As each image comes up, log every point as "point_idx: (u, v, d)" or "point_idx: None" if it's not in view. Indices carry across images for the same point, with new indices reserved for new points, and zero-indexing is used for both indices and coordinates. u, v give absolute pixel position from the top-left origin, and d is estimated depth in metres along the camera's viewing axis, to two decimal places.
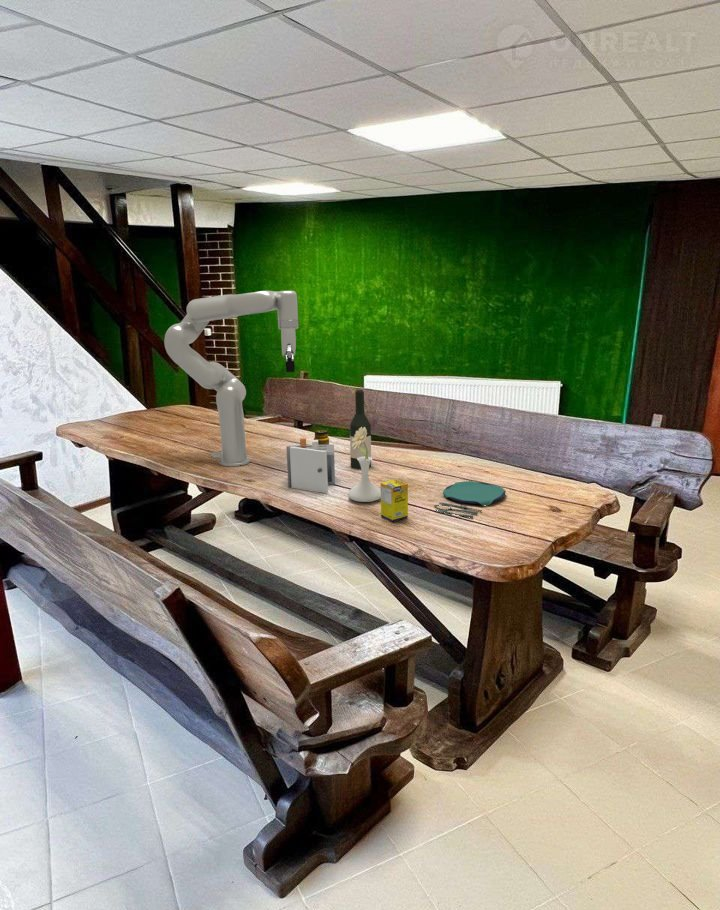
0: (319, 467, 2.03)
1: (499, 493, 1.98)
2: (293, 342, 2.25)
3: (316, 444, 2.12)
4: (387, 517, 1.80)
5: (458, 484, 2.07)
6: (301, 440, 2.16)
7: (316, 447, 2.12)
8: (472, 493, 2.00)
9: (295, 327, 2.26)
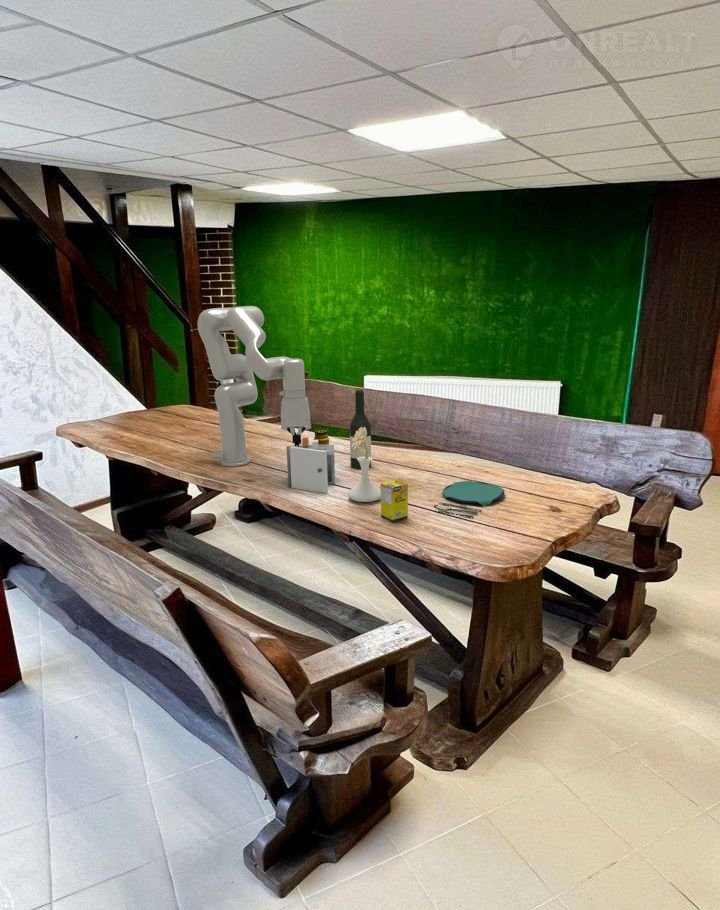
0: (319, 467, 2.03)
1: (498, 493, 1.99)
2: None
3: (316, 444, 2.12)
4: (387, 517, 1.80)
5: (457, 484, 2.07)
6: (303, 440, 2.16)
7: (316, 447, 2.12)
8: (471, 493, 2.00)
9: None
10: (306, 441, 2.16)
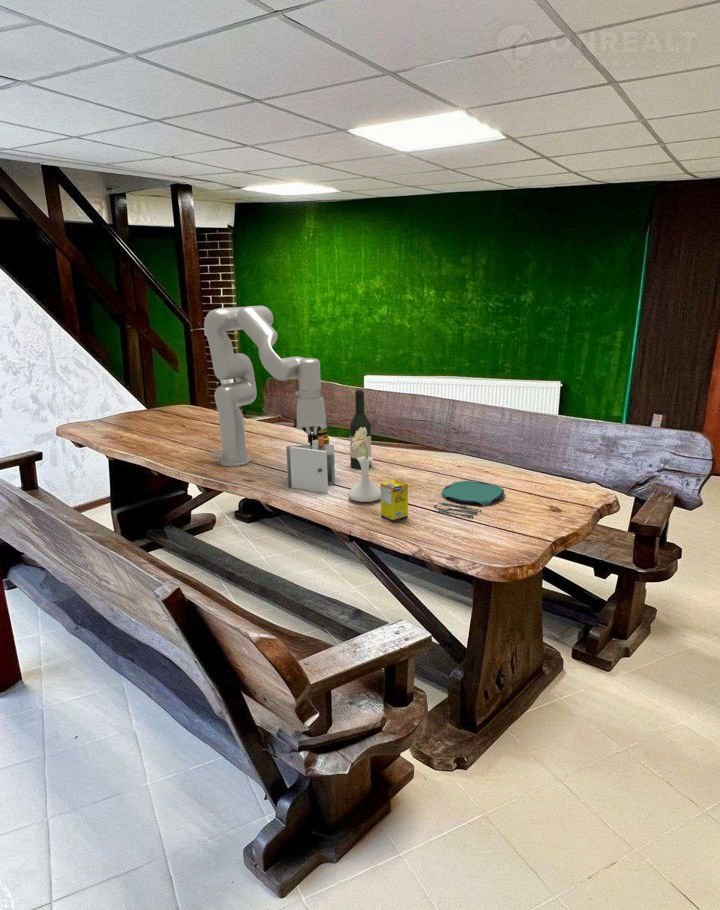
0: (319, 467, 2.03)
1: (498, 492, 1.99)
2: None
3: (316, 444, 2.12)
4: (387, 517, 1.80)
5: (456, 484, 2.07)
6: (319, 440, 2.16)
7: (316, 447, 2.12)
8: (471, 493, 2.00)
9: None
10: (321, 441, 2.16)
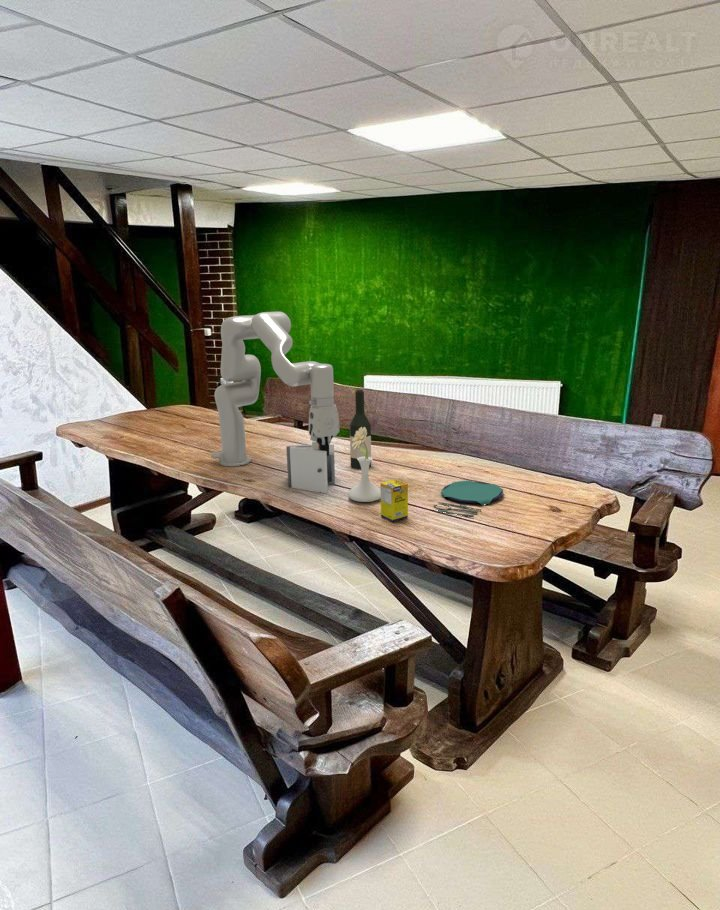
0: (319, 467, 2.03)
1: (497, 492, 1.99)
2: None
3: (316, 444, 2.12)
4: (387, 517, 1.80)
5: (455, 484, 2.08)
6: None
7: (316, 447, 2.12)
8: (470, 492, 2.00)
9: None
10: None
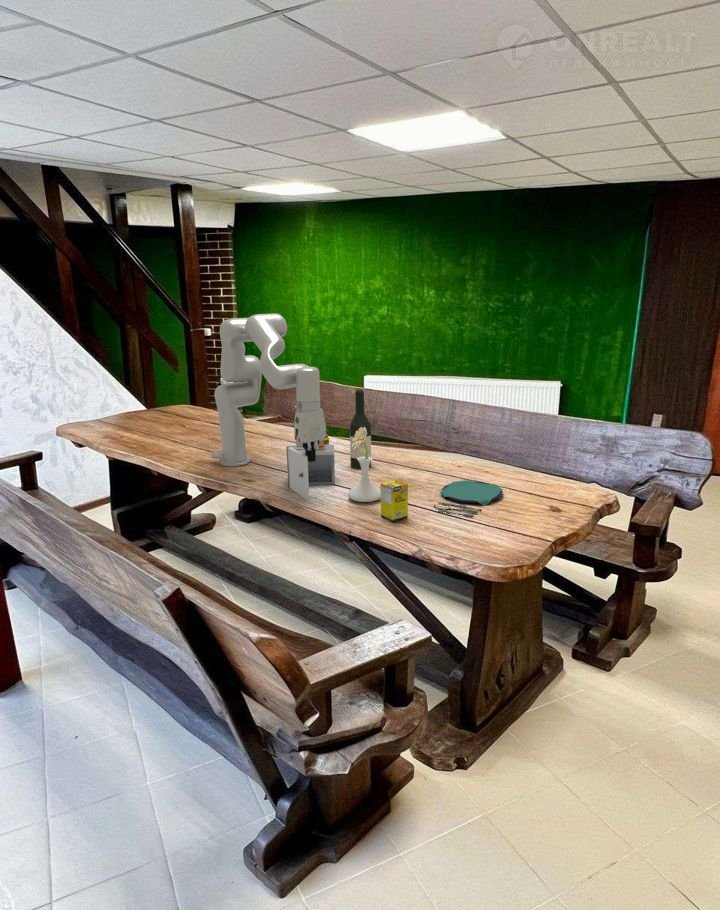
0: (301, 472, 1.99)
1: (496, 492, 1.99)
2: None
3: None
4: (387, 517, 1.80)
5: (454, 483, 2.08)
6: None
7: None
8: (469, 492, 2.00)
9: None
10: (322, 441, 2.16)
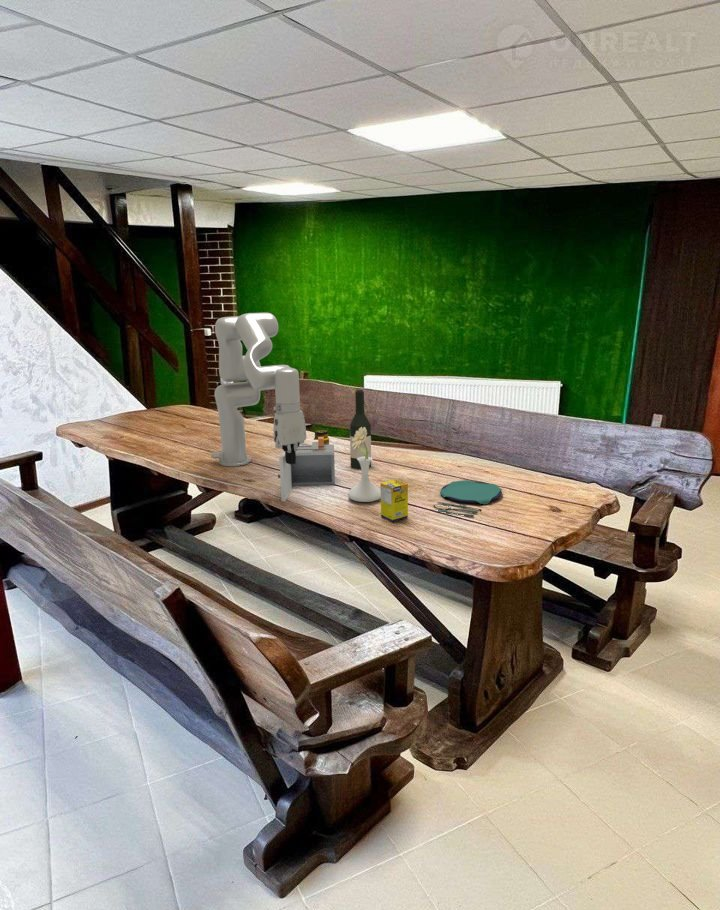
0: None
1: (496, 492, 2.00)
2: None
3: (316, 444, 2.12)
4: (387, 517, 1.80)
5: (454, 483, 2.08)
6: (319, 440, 2.16)
7: (316, 447, 2.12)
8: (469, 492, 2.00)
9: None
10: (322, 441, 2.16)
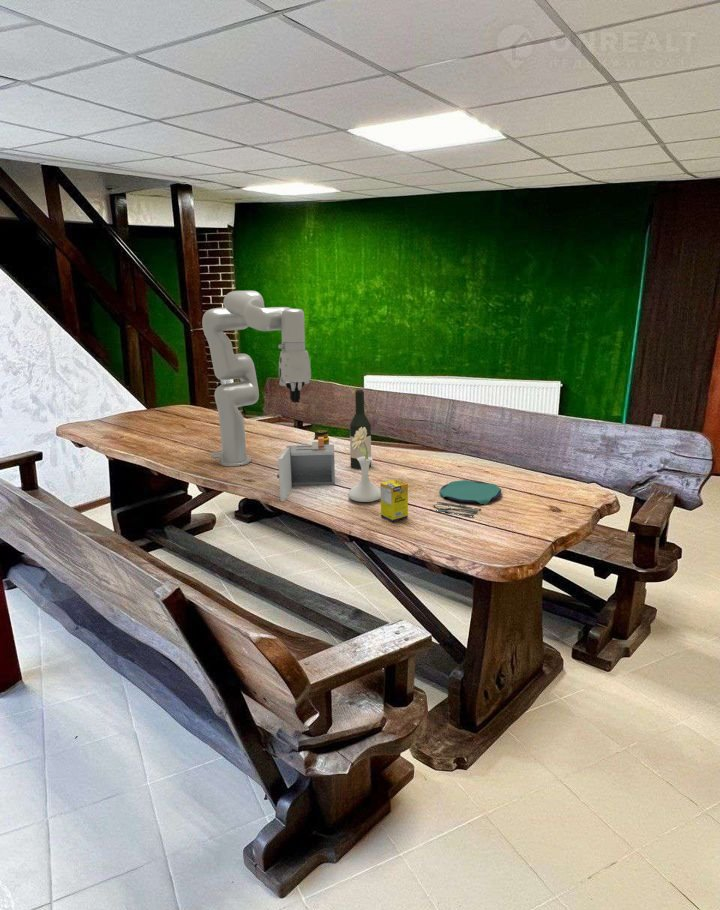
0: None
1: (495, 491, 2.00)
2: None
3: (316, 444, 2.12)
4: (387, 517, 1.80)
5: (453, 483, 2.08)
6: (319, 440, 2.16)
7: (316, 447, 2.12)
8: (468, 492, 2.01)
9: None
10: (322, 441, 2.16)
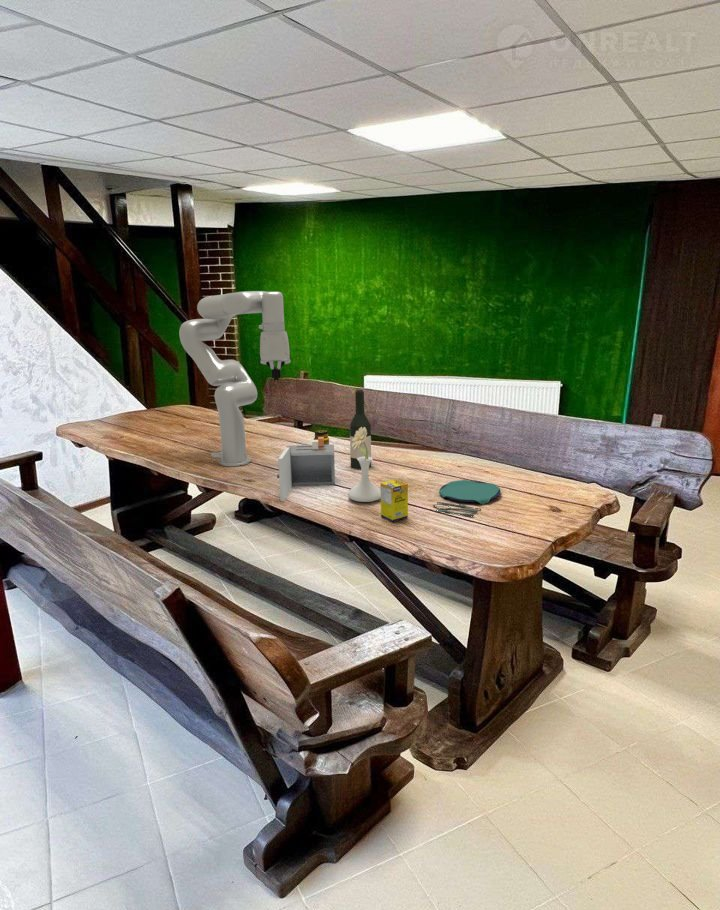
0: None
1: (494, 491, 2.00)
2: None
3: (316, 444, 2.12)
4: (387, 517, 1.80)
5: (452, 483, 2.08)
6: (319, 440, 2.16)
7: (316, 447, 2.12)
8: (468, 492, 2.01)
9: None
10: (322, 441, 2.16)
